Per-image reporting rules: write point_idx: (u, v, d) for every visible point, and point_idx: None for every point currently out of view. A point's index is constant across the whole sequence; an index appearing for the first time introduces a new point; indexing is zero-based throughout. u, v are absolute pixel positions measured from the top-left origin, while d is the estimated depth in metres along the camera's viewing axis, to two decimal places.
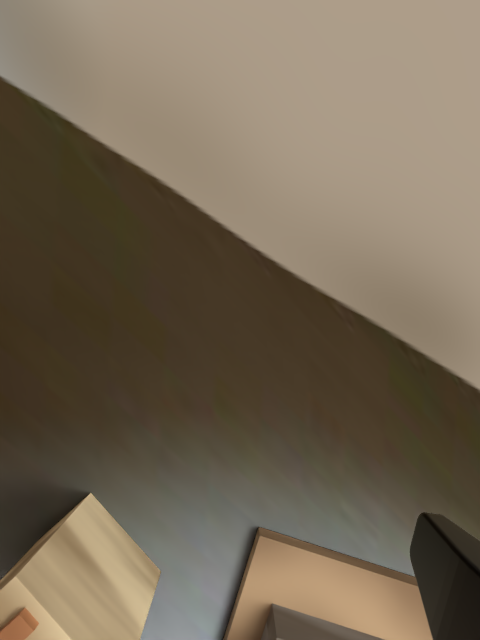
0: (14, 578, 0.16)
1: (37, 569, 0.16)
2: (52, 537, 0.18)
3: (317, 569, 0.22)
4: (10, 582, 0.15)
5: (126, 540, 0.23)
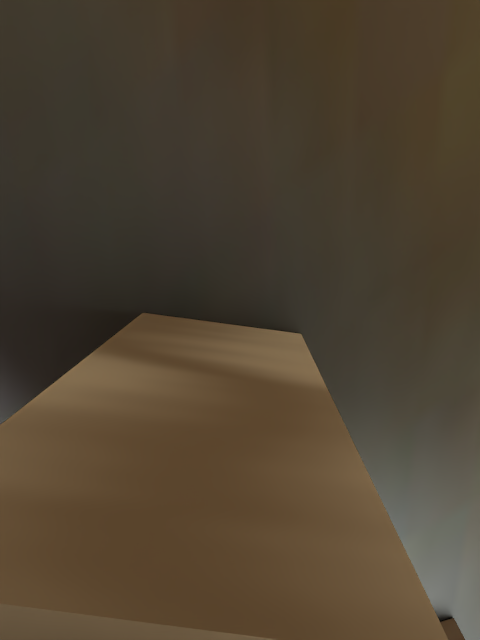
0: None
1: None
2: (345, 433, 0.05)
3: None
4: None
5: None
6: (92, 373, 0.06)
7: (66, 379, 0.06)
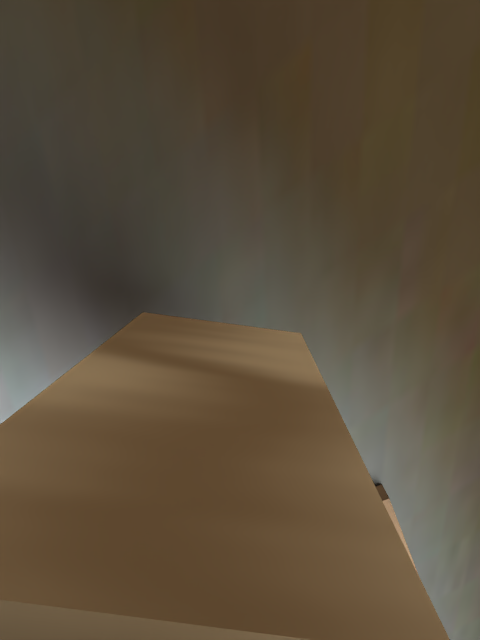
0: None
1: None
2: None
3: None
4: None
5: None
6: (93, 372, 0.06)
7: (67, 378, 0.06)
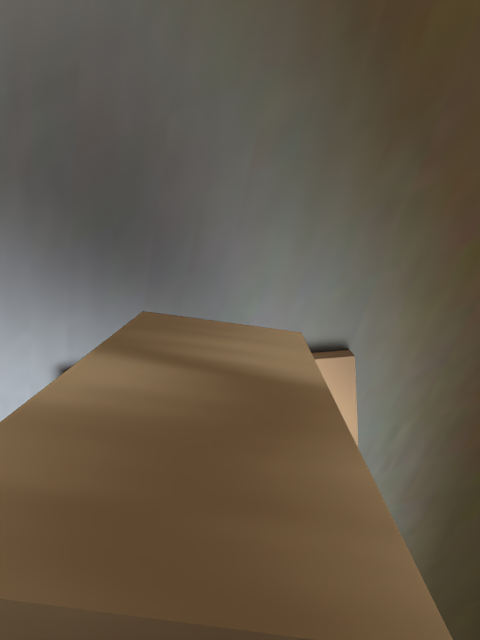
0: None
1: None
2: (346, 430, 0.05)
3: None
4: None
5: None
6: (92, 371, 0.06)
7: (66, 376, 0.06)
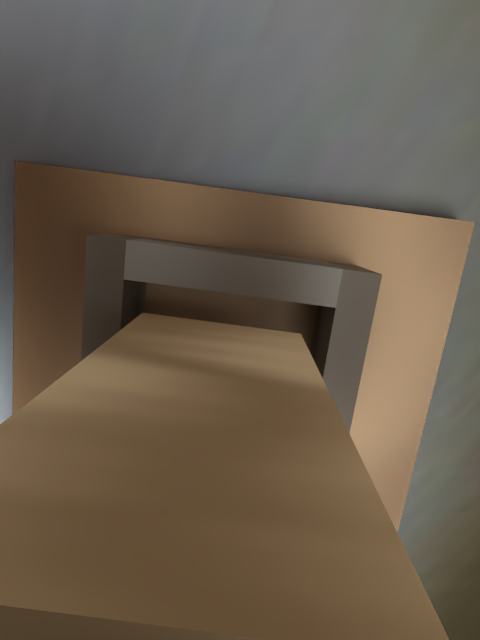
0: None
1: None
2: (345, 433, 0.05)
3: (422, 331, 0.13)
4: None
5: None
6: (92, 373, 0.06)
7: (66, 379, 0.06)
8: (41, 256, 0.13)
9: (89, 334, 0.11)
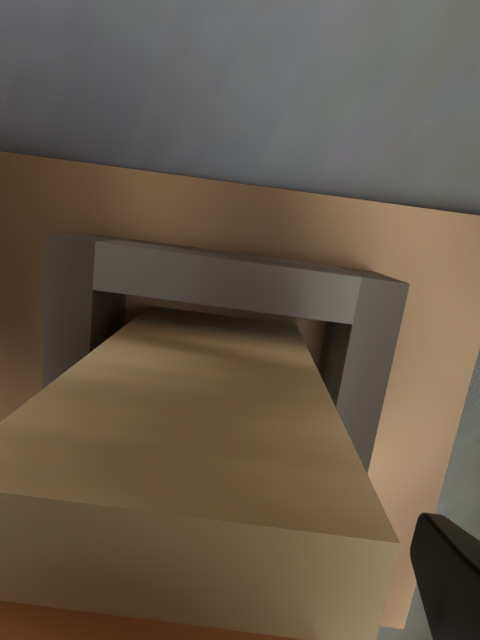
0: (379, 539, 0.03)
1: None
2: None
3: (450, 348, 0.11)
4: (367, 546, 0.03)
5: None
6: (111, 354, 0.07)
7: (90, 358, 0.07)
8: (2, 260, 0.11)
9: (51, 356, 0.09)
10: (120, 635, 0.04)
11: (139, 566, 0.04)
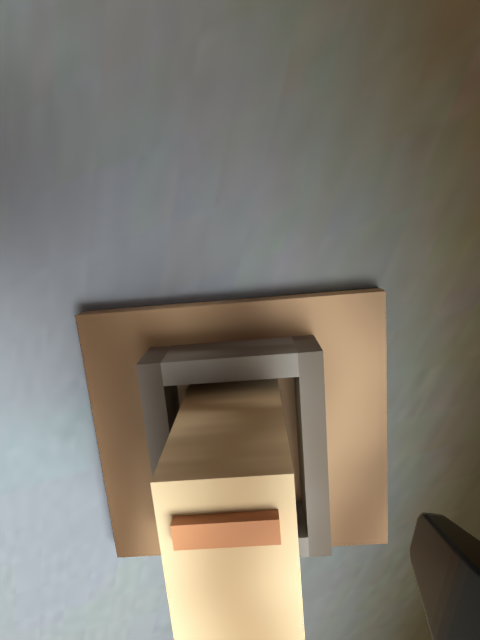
0: (288, 473, 0.11)
1: None
2: None
3: (369, 368, 0.19)
4: (284, 476, 0.11)
5: None
6: (183, 420, 0.15)
7: (175, 425, 0.15)
8: (103, 371, 0.19)
9: (148, 423, 0.17)
10: (217, 517, 0.11)
11: (218, 496, 0.11)
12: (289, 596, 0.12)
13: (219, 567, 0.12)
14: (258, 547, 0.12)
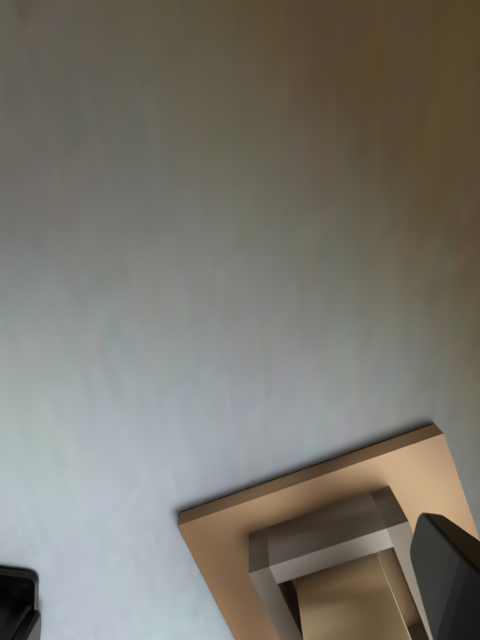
0: None
1: None
2: (401, 617, 0.16)
3: (448, 499, 0.20)
4: None
5: (389, 584, 0.21)
6: (309, 626, 0.17)
7: (305, 635, 0.17)
8: (214, 563, 0.21)
9: (273, 616, 0.19)
10: None
11: None
12: None
13: None
14: None
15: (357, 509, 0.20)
